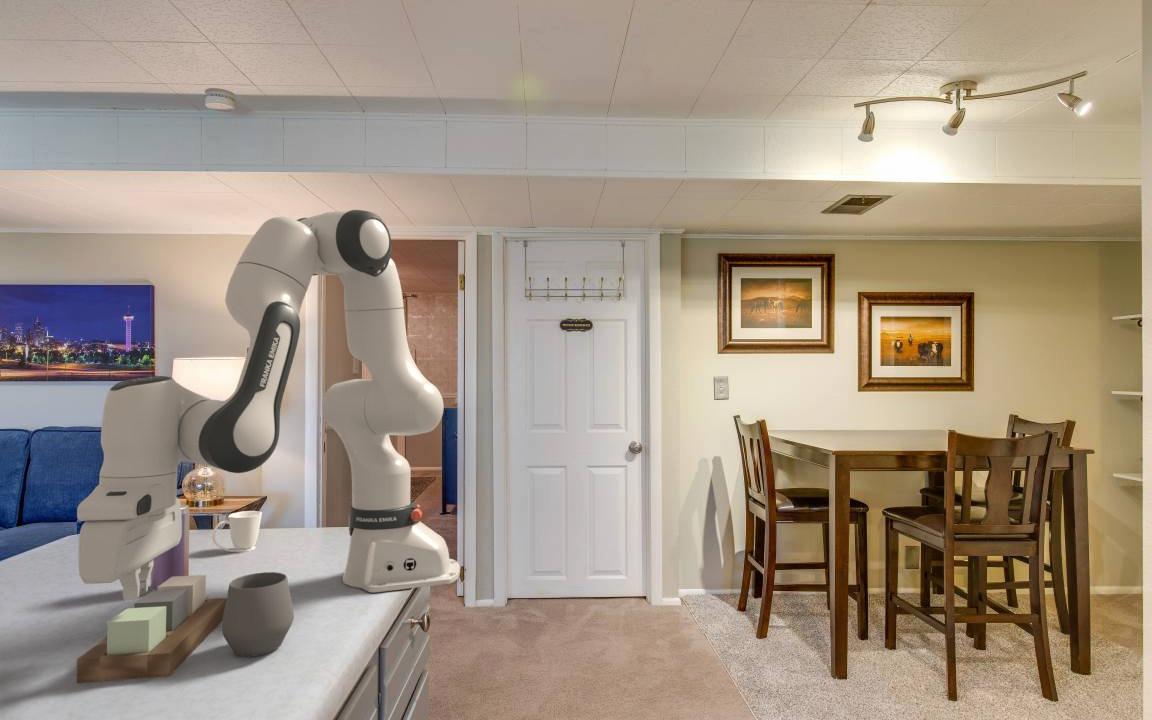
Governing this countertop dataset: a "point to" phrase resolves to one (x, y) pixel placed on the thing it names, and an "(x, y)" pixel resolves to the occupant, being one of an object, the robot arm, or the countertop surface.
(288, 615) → the cup
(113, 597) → the countertop surface
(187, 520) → the beverage can
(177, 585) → the ivory key
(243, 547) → the cup
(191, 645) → the wooden tray
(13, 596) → the countertop surface
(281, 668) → the countertop surface
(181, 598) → the graphite key
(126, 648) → the sage key
